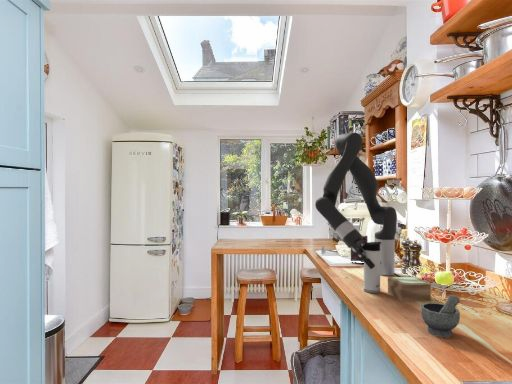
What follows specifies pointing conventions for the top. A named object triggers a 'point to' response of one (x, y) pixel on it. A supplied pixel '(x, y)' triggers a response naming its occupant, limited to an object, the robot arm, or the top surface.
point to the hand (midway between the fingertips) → (376, 266)
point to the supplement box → (353, 257)
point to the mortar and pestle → (441, 316)
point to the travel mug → (372, 274)
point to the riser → (409, 289)
